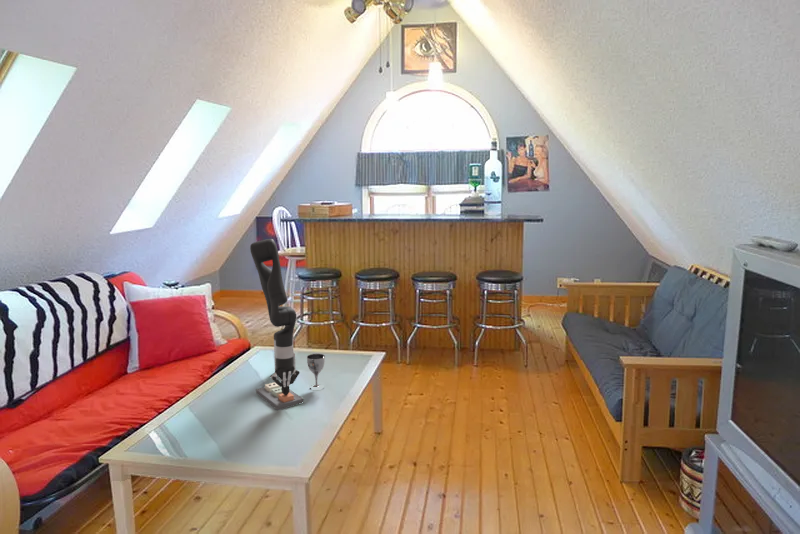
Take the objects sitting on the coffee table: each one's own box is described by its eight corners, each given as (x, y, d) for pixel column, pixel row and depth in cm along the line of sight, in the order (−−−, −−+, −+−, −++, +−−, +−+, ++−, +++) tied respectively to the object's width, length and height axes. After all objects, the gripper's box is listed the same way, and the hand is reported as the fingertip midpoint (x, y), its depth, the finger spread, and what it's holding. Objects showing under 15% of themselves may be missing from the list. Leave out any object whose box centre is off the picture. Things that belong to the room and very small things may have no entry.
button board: (280, 387, 255) (280, 383, 254) (303, 403, 237) (303, 398, 237) (256, 393, 247) (255, 389, 247) (277, 410, 230) (277, 405, 230)
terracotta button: (288, 397, 240) (288, 391, 240) (294, 400, 236) (293, 394, 236) (278, 399, 237) (278, 394, 237) (283, 403, 233) (283, 397, 233)
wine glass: (304, 389, 252) (303, 357, 250) (313, 383, 260) (312, 352, 257) (319, 392, 249) (319, 360, 247) (328, 385, 257) (327, 354, 254)
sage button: (281, 392, 245) (281, 386, 245) (286, 395, 242) (286, 389, 241) (271, 394, 243) (271, 389, 242) (276, 398, 239) (276, 392, 238)
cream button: (275, 387, 251) (274, 381, 250) (279, 390, 247) (279, 385, 247) (265, 389, 248) (264, 384, 248) (269, 393, 244) (269, 387, 244)
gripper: (294, 350, 240) (295, 388, 243) (266, 355, 232) (267, 395, 235) (302, 354, 234) (303, 393, 237) (273, 360, 226) (274, 400, 229)
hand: (285, 394), depth 236 cm, fingers closed
